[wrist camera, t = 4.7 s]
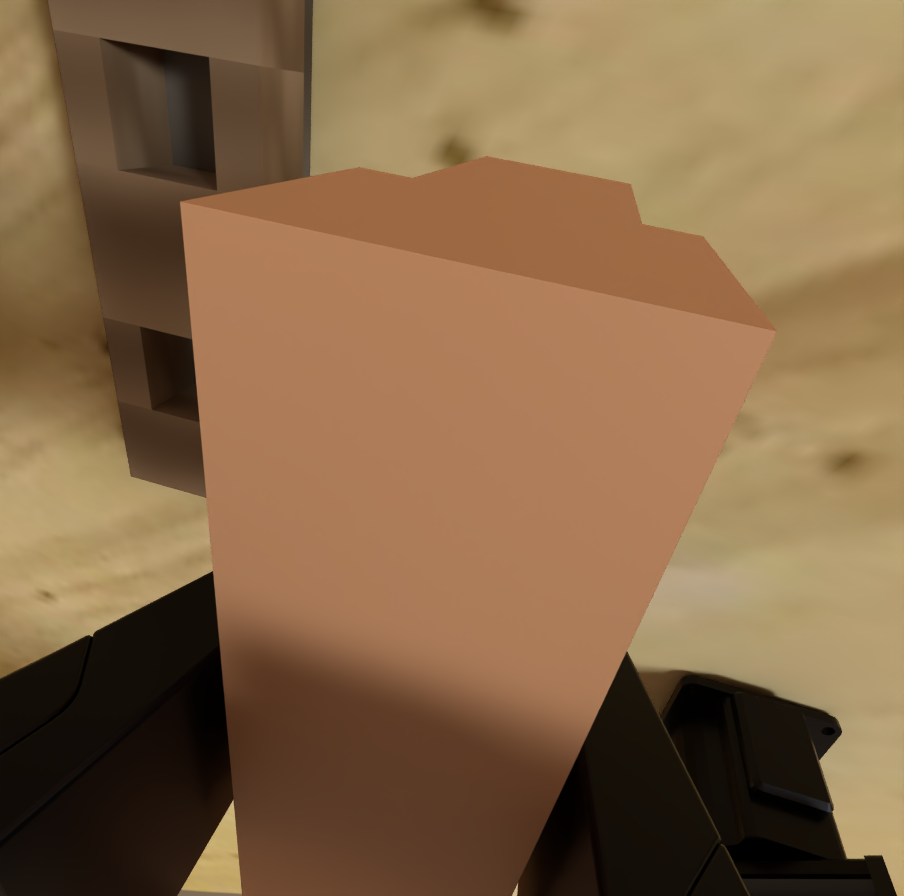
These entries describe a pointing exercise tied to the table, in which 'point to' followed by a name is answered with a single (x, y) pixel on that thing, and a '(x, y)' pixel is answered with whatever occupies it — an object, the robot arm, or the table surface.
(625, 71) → the table surface
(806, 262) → the table surface
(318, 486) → the clip
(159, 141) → the rail
